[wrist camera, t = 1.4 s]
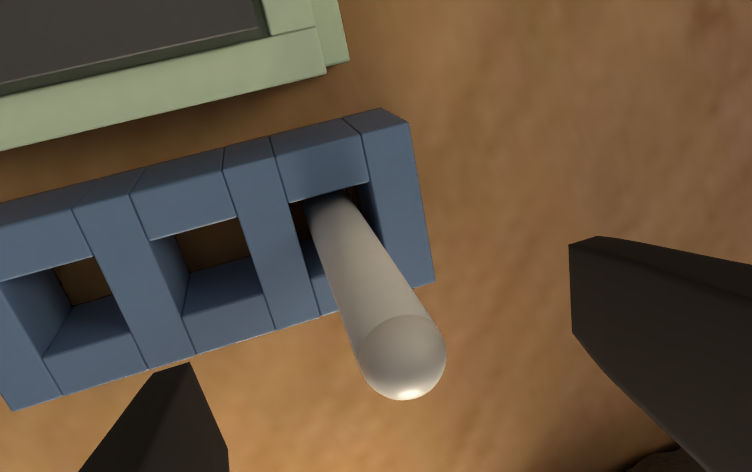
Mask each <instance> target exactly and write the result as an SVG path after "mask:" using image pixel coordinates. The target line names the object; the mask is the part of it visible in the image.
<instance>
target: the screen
mask: <svg viewBox="0 0 752 472" xmlns="http://www.w3.org/2000/svg"><path fill="white" fill-rule="evenodd" d="M258 27H259V24H258V21H257V17H256V13H255V10H254V6H253V2H252V0H0V85H1V84H5V83H10V82H15V81H19V80H24V79H28V78H33V77H38V76H42V75H47V74H51V73H56V72H60V71H65V70H70V69H74V68H79V67H83V66H88V65H93V64H97V63H102V62H106V61H111V60H115V59H120V58H125V57H129V56H134V55H138V54H143V53H148V52H152V51H157V50H161V49H166V48H170V47H175V46H180V45H184V44H189V43H193V42H198V41H203V40H207V39H212V38H216V37H221V36H225V35H230V34H235V33H239V32H244V31H248V30H253V29H257V28H258Z"/></svg>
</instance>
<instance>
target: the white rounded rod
mask: <svg viewBox="0 0 752 472" xmlns="http://www.w3.org/2000/svg"><path fill="white" fill-rule="evenodd" d="M303 212H304V216H305V219H306V221H307V224H308V227H309V230H310V232H311V235H312V238H313V241H314V244H315V246H316V249H317V252H318V255H319V257H320V260H321V263H322V266H323V268H324V271H325V274H326V277H327V280H328V282H329V285H330V288H331V291H332V293H333V296H334V299H335V302H336V304H337V307H338V310H339V313H340V316H341V318H342V321H343V324H344V327H345V329H346V332H347V335H348V338H349V340H350V343H351V346H352V349H353V352H354V354H355V357H356V360H357V363H358V365H359V368H360V371H361V373H362V375H363V377H364V379H365V380H366V382H367V383H368V384H369V385H370V386H371V387H372V388H373V389H374V390H375V391H376V392H378V393H379V394H381V395H383V396H385V397H387V398H391V399H394V400H410V399H414V398H418V397H420V396H422V395H424V394H426V393H427V392H429V391H430V390H431V389H432V388H433V387H434V386H435V385H436V384H437V382H438V381H439V379H440V378H441V376H442V374H443V372H444V369H445V364H446V358H447V354H446V345H445V341H444V338H443V336H442V334H441V332H440V330H439V329H438V327H437V326H436V324H435V323H434V321H433V320H432V318H431V317H430V315H429V314H428V312H427V311H426V309H425V308H424V306H423V305H422V303H421V302H420V300H419V299H418V297H417V296H416V294H415V293H414V291H413V290H412V289H411V287H410V286H409V284H408V283H407V281H406V280H405V278H404V277H403V275H402V274H401V272H400V271H399V269H398V268H397V266H396V265H395V263H394V262H393V260H392V259H391V257H390V256H389V254H388V253H387V251H386V250H385V249H384V247H383V246H382V244H381V243H380V241H379V240H378V238H377V237H376V235H375V234H374V232H373V231H372V229H371V228H370V226H369V225H368V223H367V222H366V220H365V219H364V217H363V216H362V214H361V213H360V212H359V210H358V209H357V207H356V206H355V204H354V203H353V201H352V200H351V198H350V197H349V195H348V194H347V192H346V191H345V190H344V189H340V190H336V191H333V192H329V193H325V194H322V195H318V196H314V197H311V198H307V199H304V203H303Z"/></svg>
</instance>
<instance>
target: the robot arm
mask: <svg viewBox="0 0 752 472" xmlns="http://www.w3.org/2000/svg"><path fill="white" fill-rule="evenodd" d="M568 247H569V271H570V295H571V318H572V333H573V334H574V335H575V337H576V338H577V339H578V341H579V342H580V343H581V345H582V346H583V347H584V348H585V350H586V351H587V352H588V354H589V355H590V356H591V357H592V359H593V360H594V361H595V362H596V363H597V365H598V366H599V367H600V368H601V369H602V371H603V372H604V373H605V374H606V375H607V376H608V377H609V378H610V379H611V380H612V381H613V382H614V383H615V384H616V385H617V386H618V387H619V388H620V389H621V390H622V391H623V392H624V393H625V394H626V395H627V396H628V397H629V398H631V399H632V400H633V401H634V402H635V403H636V404H637V405H638V406H639V407H640V408H641V409H642V410H643V411H644V412H645V413H646V414H647V415H648V416H649V417H650V418H651V419H653V420H654V421H655V422H656V423H657V424H658V425H659V426H660V427H661V428H662V429H663V430H664V431H665V432H666V433H667V434H668V435H669V436H670V437H671V438H673V439H674V440H675V441H676V442H677V443H678V444H679V445H680V446H681V447H682V448H683V449H684V450H685V451H686V452H687V453H688V454H689V455H690V456H691V457H692V458H694V459H695V460H696V461H697V462H698V463H699V464H700V465H701V466H702V467H703V468H704V469H705V470H706V471H707V472H752V265H750V264H745V263H739V262H734V261H729V260H724V259H719V258H714V257H709V256H704V255H699V254H694V253H689V252H685V251H680V250H675V249H670V248H665V247H660V246H656V245H651V244H646V243H641V242H635V241H630V240H624V239H618V238H611V237H602V236H595V237H592V238H589V239H585V240H582V241H579V242H576V243H573V244H569V245H568ZM78 472H229V460H228V448H227V446H226V444H225V441H224V439H223V437H222V435H221V432H220V430H219V428H218V426H217V423H216V421H215V419H214V416H213V414H212V412H211V410H210V407H209V405H208V403H207V400H206V398H205V396H204V394H203V391H202V389H201V387H200V384H199V382H198V380H197V378H196V375H195V373H194V371H193V368H192V366H191V364H190V362H188V363H185V364H181V365H178V366H175V367H172V368H168V369H165V370H162V371H159V372H155V373H153V374H152V376H151V377H150V378H149V379H148V380H147V381H146V383H145V384H144V385H143V387H142V388H141V389H140V390H139V392H138V393H137V394H136V396H135V397H134V398H133V400H132V401H131V402H130V404H129V405H128V407H127V408H126V409H125V411H124V412H123V413H122V415H121V416H120V417H119V419H118V420H117V421H116V423H115V424H114V425H113V427H112V428H111V429H110V431H109V432H108V433H107V435H106V436H105V437H104V439H103V440H102V441H101V443H100V444H99V445H98V446H97V448H96V449H95V450H94V452H93V453H92V454H91V456H90V457H89V458H88V460H87V461H86V462H85V464H84V465H83V466H82V468H81V469H80V470H79V471H78Z"/></svg>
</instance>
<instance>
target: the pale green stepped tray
mask: <svg viewBox="0 0 752 472" xmlns="http://www.w3.org/2000/svg"><path fill="white" fill-rule="evenodd" d="M252 2H253V6H254V10H255V13H256V17H257V21H258V24H259V27H258V28H257V29H253V30H248V31H244V32H239V33H235V34H230V35H225V36H221V37H216V38H212V39H207V40H203V41H198V42H193V43H189V44H184V45H180V46H175V47H170V48H166V49H161V50H157V51H152V52H148V53H143V54H138V55H134V56H129V57H125V58H120V59H115V60H111V61H106V62H102V63H97V64H93V65H88V66H83V67H79V68H74V69H70V70H65V71H60V72H56V73H51V74H47V75H42V76H38V77H33V78H28V79H24V80H19V81H15V82H10V83H5V84H1V85H0V151H4V150H9V149H13V148H17V147H21V146H25V145H30V144H34V143H38V142H42V141H47V140H51V139H55V138H59V137H64V136H68V135H72V134H76V133H80V132H85V131H89V130H93V129H97V128H102V127H106V126H110V125H114V124H118V123H123V122H127V121H131V120H135V119H140V118H144V117H148V116H152V115H157V114H161V113H165V112H169V111H173V110H178V109H182V108H186V107H190V106H195V105H199V104H203V103H207V102H211V101H216V100H220V99H224V98H228V97H233V96H237V95H241V94H245V93H250V92H254V91H258V90H262V89H266V88H271V87H275V86H279V85H283V84H288V83H292V82H296V81H300V80H304V79H309V78H313V77H317V76H321V75H325V74H326V73H327V71H326V67H328V66H333V65H337V64H341V63H345V62H348V61H349V59H350V58H349V53H348V48H347V43H346V38H345V34H344V29H343V24H342V19H341V14H340V10H339V5H338V0H252Z"/></svg>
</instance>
